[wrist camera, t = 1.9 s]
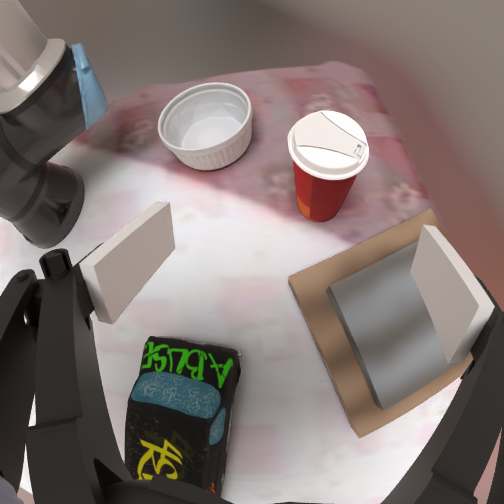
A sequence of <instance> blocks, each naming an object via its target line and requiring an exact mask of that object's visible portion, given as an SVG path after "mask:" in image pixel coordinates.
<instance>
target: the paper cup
mask: <svg viewBox="0 0 504 504" xmlns="http://www.w3.org/2000/svg"><path fill="white" fill-rule="evenodd" d="M287 139H288V147H289V152H290V155H291V157H292V159H293V164H294V174H295V184H296V194H297V202H298V207H299V209H300V211H301V213H302V214H303V215H304V216H305V217H306V218H308V219H309V220H312V221H315V222H325V221H328V220H330V219H332V218H333V217H334V216H335V215H336V214H337V212H338V211H339V209H340V207H341V205H342V204H343V202H344V200H345V198H346V196H347V194H348V192H349V190H350V188H351V186H352V184H353V182H354V180H355V178H356V176H357V174H358V172H360V171H361V170H362V169H363V168H364V166H365V165H366V163H367V160H368V157H369V147H368V143H367V140H366V136H365V134H364V132H363V130H362V129H361V127H360V126H359V125H358V124H357V123H356V122H355V121H354V120H353V119H351V118H350V117H348V116H346V115H344V114H341V113H338V112H334V111H318V112H315V113H312V114H309V115H307V116H305V117H304V118H302V119H301V120H299V121H298V122H297V123H296V124H295V125H294V126H293V127H292V129H291V130H290V132H289V134H288V137H287Z"/></svg>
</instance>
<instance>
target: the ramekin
mask: <svg viewBox="0 0 504 504" xmlns="http://www.w3.org/2000/svg"><path fill="white" fill-rule="evenodd" d="M252 116H253V110H252V105H251V102H250V99H249V97H248V96H247V94H246V93H245V92H244V91H243V90H242V89H240V88H238V87H236V86H234V85H231V84H228V83H219V82H215V83H206V84H201V85H198V86H194V87H192V88H189V89H187V90H185V91H184V92H182V93H180V94H179V95H177V96H176V97H175V98H174V99H172V100H171V101H170V102H169V103H168V104H167V106H166V107H165V108H164V110H163V111H162V113H161V115H160V118H159V121H158V133H159V136H160V138H161V140H162V142H163V143H164V145H165V146H166V147H167V148H168V149H170V150H171V151H172V152H173V153H174V154H175V155H176V156H177V157H178V158H179V159H180V160H181V161H182V162H183V163H184V164H185V165H188V166H189V167H192V168H194V169H198V170H214V169H218V168H222V167H225V166H227V165H229V164H231V163H232V162H234V161H235V160H237V159H238V158H239V157H240V156H241V155H242V154H243V153H244V152H245V151H246V148H247V147H248V145H249V143H250V140H251V135H252Z"/></svg>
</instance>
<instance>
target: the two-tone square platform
mask: <svg viewBox="0 0 504 504" xmlns="http://www.w3.org/2000/svg"><path fill="white" fill-rule="evenodd" d="M423 225H430V226H436V228H437V229H438V230H439V231H440V232H441V234H442V235H443V236H444V237H445V238H446V240H447V241H448V239H447V237H446V235H445V233H444V231H443V229H442V228H441V226H440V224H439V222H438V220H437V218H436V217H435V215H434V213H433V211H432V210H431V209H429V210H427V211H425V212H423V213H421V214H419V215H417V216H415V217H413V218H411V219H409V220H407V221H405V222H403V223H401V224H399V225H397V226H395V227H393V228H391V229H389V230H387V231H385V232H383V233H381V234H379V235H377V236H375V237H373V238H371V239H369V240H367V241H365V242H362V243H360V244H358V245H356V246H354V247H352V248H350V249H348V250H346V251H344V252H341V253H339V254H337V255H335V256H333V257H331V258H329V259H326V260H324V261H322V262H320V263H318V264H316V265H314V266H311V267H309V268H307V269H305V270H303V271H300V272H298V273H296V274H294V275H291V276H289V285H290V287H291V290H292V292H293V294H294V296H295V298H296V301H297V303H298V305H299V307H300V309H301V312H302V314H303V316H304V318H305V321H306V323H307V325H308V327H309V330H310V332H311V334H312V336H313V339H314V341H315V343H316V345H317V348H318V350H319V352H320V354H321V357H322V359H323V361H324V364H325V366H326V368H327V370H328V373H329V375H330V377H331V380H332V382H333V384H334V387H335V389H336V391H337V394H338V396H339V398H340V401H341V403H342V405H343V408H344V410H345V412H346V415H347V417H348V420H349V422H350V424H351V427H352V429H353V430H354V432H355V433H356V434H357V436H358V437H359V438H361V437H363V436H365V435H367V434H369V433H371V432H373V431H375V430H377V429H379V428H381V427H383V426H384V425H386V424H388V423H390V422H392V421H393V420H395V419H397V418H399V417H400V416H402V415H404V414H405V413H407V412H409V411H410V410H412V409H413V408H415V407H417V406H418V405H420V404H421V403H423V402H424V401H426V400H427V399H429V398H430V397H432V396H433V395H435V394H436V393H438V392H439V391H441V390H442V389H443V388H445V387H446V386H448V385H449V384H450V383H452V382H453V381H454V380H456V379H457V378H458V377H460V376H461V375H462V374H463V373H464V372H465V371H466V369H467V368H468V366H469V365H470V363H471V362H472V360H473V357H472V354H471V352H470V353H469V354H468V356H467V358H466V359H465V361H464V362H463V363H453V364H448V362H447V359H446V356H445V353H444V351H443V348H442V345H441V342H440V340H439V337H438V334H437V332H436V329H435V327H434V324H433V322H432V319H431V317H430V314H429V312H428V309H427V307H426V305H425V302H424V300H423V298H422V296H421V293H420V291H419V289H418V287H417V284H416V282H415V280H414V278H413V276H412V274H411V272H410V271H411V267H412V264H413V260H414V257H415V253H416V250H417V246H418V242H419V238H420V234H421V230H422V226H423ZM448 242H449V241H448Z"/></svg>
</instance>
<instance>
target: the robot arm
mask: <svg viewBox="0 0 504 504" xmlns="http://www.w3.org/2000/svg"><path fill="white" fill-rule="evenodd" d="M107 108H108V102H107V99H106V97H105V94H104V92H103V90H102V87H101V85H100V83H99V81H98V78H97V76H96V74H95V71H94V69H93V67H92V65H91V63H90V60H89V58H88V56H87V54H86V51H85V49H84V48H83V46H82V44H81V43H78V44H76V45H72V46H71V48H69V47H68V46H67V44H66V43H65V42H64V41H63V40H62V39H46V38H45V37H44V35H43V34H42V33H41V31H40V30H39V29H38V28H37V26H36V25H35V23H34V22H33V21H32V19H31V18H30V17H29V15H28V14H27V13H26V11H25V10H24V8H23V7H22V6H21V4H20V3H19V2H18V0H0V217H2V218H4V219H6V220H8V221H10V222H11V223H12V224H13V225H14V226H15V227H16V228H17V229H18V231H19V232H20V233H21V234H23V236H24V237H25V239H26V240H27V241H28V242H29V243H31V244H33V245H35V246H37V247H40V248H50V247H52V246H54V245H56V244H57V243H59V242H60V241H61V240H62V239H63V238H64V237H65V236H66V235H67V234H68V233H69V231H70V230H71V229H72V227H73V225H74V224H75V222H76V220H77V218H78V216H79V213H80V211H81V207H82V204H83V199H84V186H83V182H82V179H81V178H80V176H79V175H78V174H77V173H75V172H74V171H73V170H72V169H70V168H69V167H66V166H60V165H57V164H54V163H51V162H48V160H49V159H51V158H52V157H53V156H54V155H55V154H56V153H57V152H59V151H60V150H61V149H62V148H63V147H65V146H66V145H67V144H68V143H70V142H71V141H72V140H73V139H75V138H76V137H77V136H78V135H80V134H81V133H82V132H84V131H85V130H86V131H87V130H88V129H89V127H90V126H91V125H92V124H93V123H94V122H96V121H97V120H98V119H100V118H101V117H102V116H103V115H104V114H105V113H106V110H107ZM174 249H175V243H174V235H173V227H172V218H171V208H170V202H156V203H155V204H154V205H152V206H151V207H150V208H148V209H147V210H146V211H144V212H143V213H142V214H140V215H139V216H138V217H136V218H135V219H134V220H132V221H131V222H130V223H128V224H127V225H126V226H124V227H123V228H122V229H121V230H119V231H118V232H117V233H116V234H114V235H113V236H112V237H111V238H109V239H108V240H107V241H106V242H104V243H102V244H100V245H99V246H97V247H96V248H95V249H94V250H93V251H91V252H90V253H89V254H88V256H85V257H84V258H83V259H82V260H81V261H79V262H78V263H77V264H76V265H75V266H74V267H72V264H71V261H70V257H69V254H68V251H67V250H66V249H61V248H60V249H55V250H52V251H49V252H47V253H46V254H44V255H43V256H42V257H41V258H40V260H39V262H40V265H41V268H42V271H43V273H44V276H45V279H38V280H37V277H36V275H35V272H34V270H32V269H27V270H22V271H21V272H20V271H19V272H18V273H17V274H16V275H14V276H13V278H12V279H11V280H10V282H9V283H8V285H7V286H6V288H5V290H4V291H3V293H2V294H1V296H0V504H24V503H23V501H22V500H21V499H20V498H18V497H17V492H18V489H19V485H20V481H21V476H22V470H23V463H24V453H25V445H26V450H27V459H28V467H29V474H30V481H31V487H32V492H33V497H34V502H35V504H233V503H231V502H229V501H226V500H224V499H222V498H220V497H218V496H215V495H213V494H211V493H209V492H207V491H205V490H203V489H201V488H199V487H197V486H195V485H192V484H188V483H185V482H181V481H178V480H175V479H172V478H169V477H165V476H162V475H160V474H157V473H154V475H153V477H152V479H151V480H149V479H137V480H133V478H132V476H131V474H130V472H129V471H128V469H127V467H126V466H125V464H124V462H123V460H122V458H121V455H120V452H119V449H118V446H117V442H116V439H115V435H114V432H113V428H112V425H111V421H110V417H109V413H108V409H107V405H106V401H105V396H104V392H103V387H102V382H101V377H100V372H99V366H98V360H97V354H96V348H95V341H94V333H93V325H92V320H91V318H90V314H91V313H92V312H93V311H94V310H95V313H96V315H97V318H98V320H99V321H101V322H105V323H108V324H112V325H113V324H114V322H115V321H116V320H117V318H118V317H119V316H120V315H121V313H122V312H123V311H124V310H125V308H126V307H127V306H128V305H129V303H130V302H131V301H132V300H133V298H134V297H135V296H136V295H137V293H138V292H139V291H140V290H141V288H142V287H143V286H144V285H145V284H146V282H147V281H148V280H149V279H150V278H151V276H152V275H153V274H154V273H155V272H156V270H157V269H158V268H159V267H160V266H161V264H162V263H163V262H164V261H165V260H166V258H167V257H168V256H169V255H170V254H171V253H172V251H173V250H174ZM410 272H411V274H412V276H413V278H414V280H415V282H416V284H417V287H418V289H419V291H420V293H421V296H422V298H423V300H424V302H425V305H426V307H427V309H428V312H429V314H430V317H431V319H432V322H433V324H434V327H435V329H436V332H437V334H438V337H439V340H440V342H441V345H442V348H443V351H444V353H445V356H446V359H447V362H448V364H453V363H463V362H464V361H465V359H466V358H467V356H468V354H469V353H470V352H471V354H472V357H473V360H472V362H471V363H470V365H469V366H468V368H467V369H466V371H465V372H464V373H463V375H462V376H461V378H460V379H463V380H462V382H461V384H460V386H459V388H458V390H457V392H456V394H455V396H454V398H453V400H452V402H451V404H450V405H449V407H448V409H447V411H446V413H445V415H444V416H443V418H442V420H441V422H440V423H439V425H438V427H437V428H436V430H435V432H434V433H433V435H432V436H431V438H430V440H429V441H428V443H427V444H426V446H425V447H424V449H423V450H422V452H421V453H420V455H419V456H418V458H417V459H416V460H415V462H414V463H413V465H412V466H411V467H410V469H409V470H408V471H407V473H406V474H405V475H404V477H403V478H402V479H401V480H400V482H399V483H398V484H397V485H396V487H395V488H394V489H393V490H392V492H391V493H390V494H389V495H388V496H387V497H386V499H385V500H384V501H383V502H382V503H381V504H477V498H476V497H474V496H473V494H474V491H475V488H476V486H477V484H478V482H479V480H480V478H481V476H482V474H483V472H484V470H485V468H486V465H487V463H488V461H489V459H490V456H491V454H492V452H493V449H494V447H495V444H496V441H497V439H498V436H499V433H500V431H501V428H502V432H501V440H500V446H499V452H498V458H497V463H496V468H495V473H494V477H493V481H492V485H491V489H490V493H489V497H488V500H487V504H504V312H502V310H501V309H500V307H499V306H498V304H497V302H496V301H495V300H494V298H493V296H491V293H490V292H489V290H487V288H486V286H485V285H484V284H483V282H482V281H481V280H480V279H479V278H478V277H477V276H475V275H474V274H472V272H471V271H470V269H469V268H468V267H467V265H466V264H465V263H464V261H463V260H462V259H461V257H460V256H459V255H458V254H457V252H456V251H455V250H454V248H453V247H452V246H451V245H450V243H449V242H448V241H447V240H446V238H445V237H444V236H443V235H442V234H441V232H440V231H439V230H438V229H437V228H436V226H430V225H423V226H422V230H421V234H420V238H419V242H418V246H417V250H416V253H415V257H414V260H413V264H412V267H411V271H410ZM24 315H25V317H26V319H27V323H26V324H25V321H24ZM34 394H35V405H36V425H35V426H30V427H28V425H29V419H30V414H31V409H32V404H33V399H34ZM275 504H320V503H298V502H284V503H275Z"/></svg>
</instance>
